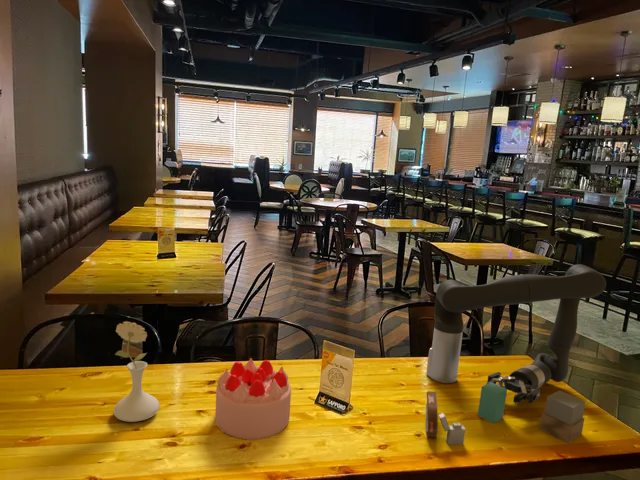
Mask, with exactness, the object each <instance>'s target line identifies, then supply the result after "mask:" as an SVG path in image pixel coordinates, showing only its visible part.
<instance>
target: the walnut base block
mask: <svg viewBox="0 0 640 480" xmlns="http://www.w3.org/2000/svg"><path fill="white" fill-rule="evenodd" d="M584 423H585V417H583V418H582V419H581V420H579V421H577V422H575V423H574V424H572V425H568V424H566V423H564V422H562V421H560V420H558V419H555V418H553V417H551V416H549V415H547V414H545V411H544V412H542V413H541V417H540V423H539V430H540V431H542V432H544V433H546V434H549V435H550V436H553V437H554V438H557V439H558V440H561V441H562V442H564V443H567V444H569V445H570V444H571V443H572V442H574V441H575V440H576V439H578V438H579V437H581V436H582V434H583V429H584Z"/></svg>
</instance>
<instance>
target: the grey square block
mask: <svg viewBox="0 0 640 480" xmlns="http://www.w3.org/2000/svg"><path fill="white" fill-rule="evenodd" d="M585 406H586V401H585V400H582V399H581V398H579V397H576V396H574V395H572V394H569V393H567V392H564V391H563V390H558V391H555V392H554V393H552V394H550V395H547V396H546V401H545V406H544V407H545V408H544V412H545V414H547V415H549V416H551V417H553V418H555V419H558V420H560V421H562V422H564V423H566V424H568V425H572V424H574V423H575V422H577V421H579V420H581V419H582V418H584V411H585Z"/></svg>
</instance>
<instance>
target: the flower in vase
mask: <svg viewBox="0 0 640 480" xmlns="http://www.w3.org/2000/svg"><path fill="white" fill-rule="evenodd" d="M115 328H116V329H115V332H116V333H117V335H118V336H120V338H121V339H124V340H125V341H127V348H126V351H123V350H118V351H116V352H115V353H114V355H115V356H119V357H123V358H128V357H129V359H130V361H131V362H129V363H127V364H126V368H127V370H129V373H130V375H131V383H132V385H131V386H132V388H131V391H130V393H128V394H127V395H125V396H124V397H123V398H121V399H120V400H119V401H118V402H117V403H116V404H115V406H114V408H113V415H114V416H115V418H116V419H118V420H120V421H122V422H129V423H132V422H133V423H134V422H140V421H144V420H147V419H150V418H151V417H153V416H155V415H156V414H157V412H158V411H159V409H160V407H161V406H160V402H159V400H158V399H157V398H156V397H154V395H151V394H149V393H147V392H146V391H144V390H143V387H142V381H143V374H144V371H145V370H146V368H147V366H148V362H146V361H142V359H143V358H144V357H145V356H146V355H147V352H146V353H140V354H138V355H137V356H135V358H134V359H133V358H132V355H130V351H129V350H130V349H129V348H130V342H131V343H137V344H138V343H142V342H146V339H147V337H148V333H147V331H145V330H146V329H145V327H142V325H137V323H136V322H132V323H131V322H130V321H123V322H122V323H118V324H117V325H116V327H115Z"/></svg>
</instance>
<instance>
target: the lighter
mask: <svg viewBox="0 0 640 480" xmlns="http://www.w3.org/2000/svg"><path fill="white" fill-rule="evenodd" d="M438 419H439V421H440V423H441V426H442V429H443V430H444V432H446V437H445V438H446V439H445V442H446V443H447V444H448V445H449V446H456V445H458V446H462V445H464V443H465V435H466V427H465V426H464V425H463V424H461V423H460V422H453V423H452V425H449V422H448V420H447V417H446V415H445V413H443V412H442V413H440V414H439V413H438Z"/></svg>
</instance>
